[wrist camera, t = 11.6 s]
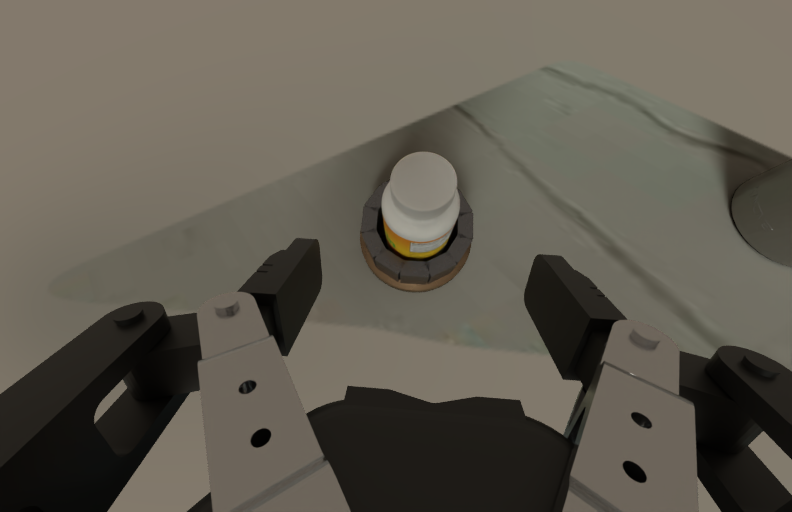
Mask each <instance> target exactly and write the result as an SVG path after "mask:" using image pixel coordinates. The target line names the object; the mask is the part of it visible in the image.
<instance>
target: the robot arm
mask: <svg viewBox="0 0 792 512" xmlns="http://www.w3.org/2000/svg"><path fill="white" fill-rule="evenodd" d="M732 214H733V219H734V221H735V224H736V226H737V228H738V230H739V231H740V233H741V234H742V236H743V237H744V238H745V239H746V241H747V242H748V243H749V244H750V245H751V246H752V247H753V248H755V249H756V250H757V251H758V252H759V253H761V254H762V255H764V256H766V257H767V258H769V259H771V260H773V261H775V262H778V263H780V264H782V265H786V266H790V267H792V160H790V161H788V162H785V163H783V164H781V165H779V166H777V167H775V168H773V169H771V170H769V171H767V172H764V173H762V174H760V175H758V176H756V177H754V178H752V179H750V180H748V181H746V182H745V183H743V184H742V185H740V187H739V188H738V189H737V190H736V191H735V194H734V196H733V199H732ZM321 285H322V269H321V258H320V247H319V242H318V240H317V239H302V238H296V239H295V240H294V241H293V242H292V244H291V245H290V246H289V247H288V248H287V249H286V250H281V251H279V252H277V253H275V254H273V255H271V256H270V257H269V258H268V259H267V260H266V261H265V262H264V263H263V266H260V267H259V268H258V270H257V272H255V273H254V274H253V275H252V276H251V277H250V278H249V279H248V280H247V281H246V283H245V284H244V285H243V286H242V287H241V288H240V289H239V290H238V291H237V292H229V293H224V294H221V295H218V296H215V297H213V298H211V299H209V300H208V301H206V302H205V303H204V304H202V305H201V306H200V308H199V309H198V311H197V313H192V314H184V315H176V316H170V317H168V316H167V314H166V312H165V309H164V307H163V305H161V304H160V303H157V302H139V303H134V304H130V305H127V306H124V307H121V308H118V309H116V310H114V311H112V312H110V313H108V314H107V315H105V316H104V317H102V318H101V319H100V320H98V321H97V322H96V323H94V324H93V325H92V326H90V327H89V328H88V329H86V330H85V331H84V332H82V333H81V334H80V335H78V336H77V337H76V338H74V339H73V340H72V341H70V342H69V343H68V344H66V345H65V346H64V347H62V348H61V349H60V350H58V351H57V352H56V353H54V354H53V355H52V356H50V357H49V358H48V359H47V360H45V361H44V362H43V363H41V364H40V365H39V366H37V367H36V368H35V369H33V370H32V371H31V372H29V373H28V374H27V375H25V376H24V377H23V378H21V379H20V380H19V381H17V382H16V383H15V384H14V385H12V386H11V387H9V388H8V389H7V390H5V391H4V392H3V393H1V394H0V512H107V511H108V510H109V508H110V507H111V505H112V504H113V503H114V501H115V500H116V498H117V497H118V495H119V494H120V492H121V491H122V489H123V488H124V487H125V485H126V484H127V482H128V481H129V480H130V478H131V477H132V475H133V474H134V472H135V471H136V469H137V468H138V466H139V465H140V464H141V462H142V461H143V459H144V458H145V457H146V455H147V454H148V452H149V451H150V449H151V448H152V446H153V445H154V444H155V442H156V441H157V439H158V438H159V436H160V435H161V434H162V432H163V431H164V429H165V428H166V426H167V425H168V424H169V422H170V421H171V419H172V418H173V416H174V415H175V413H176V412H177V411H178V409H179V408H180V406H181V405H182V403H183V402H184V401H185V399H186V397H187V396H188V395H189V393H190V392H194V391H199V390H200V392H201V403H202V413H203V422H204V432H205V440H206V451H207V460H208V470H209V480H210V489H211V492H210V493H209V494H207V495H206V496H205V497H204V498H203V499H201V500H200V501H199V502H198V503H196V504H195V505H194V506H193V507H192V508H191V509H189V510H188V511H187V512H699V511H698V487H697V477H698V478H699V479H700V481H701V482H702V484H703V485H704V487H705V488H706V490H707V491H708V493H709V494H710V496H711V497H712V498H713V500H714V501H715V503H716V504H717V506H718V507H719V509H720V510H721V512H792V495H791V494H790V493H789V492H788V491H787V489H786V488H785V487H784V486H783V485H782V484H781V483H780V482H779V481H778V479H777V478H776V477H775V476H774V475H773V474H772V472H771V471H770V470H769V469H768V468H767V467H766V466H765V465H764V464H763V462H762V461H761V460H760V459H759V458H758V457H757V456H756V454H755V453H754V452H753V451H752V450H751V449H750V448H749V447H748V445H749V444H750V443H751V442H752V441H753V440H754V439H755V438H756V437H757V436H758V435H759V434H760V433H761V432H763V431H764V432H766V434H767V435H768V436H769V437H770V438H771V439H772V440H773V441H774V442H775V443H776V444H777V445H778V446H779V447H780V448H781V449H782V450H783V451H784V452H785V453H786V454H787V455H788V456H789V457H790V458H791V459H792V372H791V371H790V370H789V369H787V368H786V367H784V366H783V365H781V364H780V363H778V362H776V361H774V360H772V359H770V358H768V357H766V356H764V355H762V354H759V353H757V352H754V351H751V350H748V349H745V348H741V347H736V346H722V347H720V348H719V349H718V350H717V351H716V353H715V354H714V355H713V356H712V358H711V359H708V358H704V357H701V356H697V355H693V354H689V353H686V352H682V351H679V348H678V346H677V344H676V343H675V342H674V341H673V340H672V339H671V338H670V337H669V336H667V335H666V334H664V333H663V332H661V331H659V330H658V329H656V328H654V327H652V326H649V325H647V324H644V323H641V322H637V321H632V320H627V318H626V317H625V316H624V315H623V314H622V313H621V312H620V311H619V310H618V309H617V308H616V307H615V306H614V305H613V304H612V303H611V301H610V300H609V299H608V298H607V297H605V295H604V294H603V293H602V292H601V291H600V290H599V289H597V287H596V286H595V284H594V283H593V282H592V281H591V280H590V279H589V278H587V277H586V276H584V275H583V274H581V273H579V272H578V271H576V270H574V269H573V268H572V267H571V266H570V265H569V264H568V263H567V262H566V260H565V259H564V258H563V257H562V256H556V255H541V254H539V255H537V256H536V257H535V259H534V262H533V265H532V268H531V272H530V275H529V278H528V282H527V285H526V288H525V293H524V302H525V306H526V308H527V310H528V312H529V314H530V316H531V318H532V320H533V322H534V324H535V326H536V328H537V330H538V332H539V334H540V336H541V337H542V339H543V341H544V343H545V345H546V347H547V349H548V351H549V353H550V355H551V357H552V359H553V361H554V363H555V364H556V366H557V369H558V371H559V373H560V374H561V376H562V378H563V379H565V380H577V381H581V383H582V384H583V385H582V387H581V390H580V391H579V394H578V396H577V399H576V402H575V404H574V407H573V410H572V413H571V415H570V418H569V421H568V423H567V426H566V429H565V432H564V434H563V435H562V434H560V433H559V432H557V431H556V430H554V429H553V428H551V427H549V426H547V425H545V424H543V423H542V422H539V421H537V420H534V419H532V418H530V417H527V416H525V414H524V411H523V408H522V405H521V402H520V400H510V399H498V398H486V397H472V398H466V399H460V400H454V401H448V402H441V403H430V402H426V401H423V400H420V399H417V398H414V397H411V396H408V395H405V394H402V393H399V392H396V391H393V390H389V389H378V388H377V389H376V388H366V387H353V386H348V387H347V391H346V395H345V399H344V400H341V401H336V402H332V403H329V404H326V405H323V406H321V407H318V408H316V409H314V410H312V411H310V412H308V413H307V414H306V413H305V410H304V408H303V406H302V403H301V401H300V398H299V396H298V394H297V391H296V389H295V386H294V384H293V382H292V379H291V377H290V375H289V372H288V370H287V367H286V365H285V363H284V360H283V358H282V356H288V354H289V352H290V350H291V348H292V346H293V344H294V342H295V340H296V338H297V336H298V334H299V332H300V330H301V328H302V326H303V324H304V322H305V320H306V318H307V316H308V314H309V312H310V310H311V308H312V306H313V304H314V302H315V300H316V298H317V296H318V294H319V292H320V289H321ZM122 379H123V380H124V383H125V384H126V386H127V389H126V390H125V391H124V393H123V394H122V395H121V396H120V397H119V398H118V399H117V400H116V401H115V402H114V403H113V405H112V406H111V407H110V408H109V409H108V410H107V411H106V412H105V413H104V414H103V415H102V417H100V419H99V420H98V421H97V422H96V423H95V424H94V415H95V412H96V409H97V407H98V405H99V404H100V402H101V401H102V400H103V399H104V398H105V397H106V396H107V395H108V393H109V392H110V391H111V390H112V389H113V388H114V387H115V386H116V385H117V384H118V383H119V382H120V381H121V380H122Z"/></svg>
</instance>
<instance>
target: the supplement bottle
mask: <svg viewBox="0 0 792 512" xmlns="http://www.w3.org/2000/svg"><path fill="white" fill-rule="evenodd" d="M459 210H460V198H459V193H458V191H457V176H456V172H455V170H454V168H453V166H452V165H451V164H450V163H449V162H448V161H447V160H446V159H445V158H443V157H442V156H440V155H438V154H435V153H431V152H415V153H412V154H409V155H407V156H405V157H403V158H402V159H401V160H400V161H399V162H398V163H397V164H396V165H395V167H394V168H393V170H392V173H391V177H390V181H389V183H388V184H387V186H386V188H385V190H384V192H383V196H382V215H383V221H384V228H385V234H386V240H387V244H388V247H389V249H390V251H391V252H392V253H393V254H395V255H397V256H398V257H400V258H401V259H403V260H406V261H422V262H427V261H429V260H431V259H433V258H436V257H438V256H439V255H440V254H441V253H442V251H443V250H444V248H445V246H446V244H447V241H448V239H449V237H450V234H451V232H452V230H453V227H454V225H455V223H456V220H457V218H458V214H459Z"/></svg>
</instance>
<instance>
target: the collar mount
mask: <svg viewBox="0 0 792 512" xmlns="http://www.w3.org/2000/svg"><path fill="white" fill-rule="evenodd" d="M389 181H390V180H389ZM389 181H387V182H384V183H382V186H381V185H379V187H378V188H377V189H376V191H375V192H374V193H373V194H372V196H371V197H370V198H369V200H368V201H367V202H366V204H365V207H364V209H363V218H362V226H361V232H360V242H361V248H362V253H363V255H364V258H365V260H366V262H367V264H368V266H369V268H370V269H371V270H372V272H373V273H374V274H375V275H376V276H377V277H378V278H379V279H380V280H381V281H383V282H384V283H385V284H387V285H389V286H391V287H393V288H395V289H398V290H402V291H406V292H426V291H430V290H434V289H436V288H439V287H441V286H443V285H445V284H446V283H448V282H449V281H450V280H452V279H453V278H454V277H455V276H456V275H457V274H458V272H459V271H460V270H461V268H462V267H463V266H464V264H465V262H466V260H467V258H468V255H469V253H470V248H471V242H472V241H473V240H472V239H473V213H472V209H471V208H470V206H469V205H468V203H467V201H466V200H465V198H464V197H463V195H462V193H461V192H460V190H459V189H458V190H457V191H458V193H459V198H460V210H459V214H458V218H457V220H456V223H455V225H454V227H453V230H452V232H451V234H450V237H449V239H448V241H447V244H446V246H445V248H444V250H443V251H442V253H441V254H440V255H439V256H438V257H436V258H433V259H431V260H429V261H427V262H422V261H406V260H403V259H401V258H400V257H398V256H397V255H395V254H393V253H392V252H391V251H390V249H389V247H388V244H387V240H386V234H385V228H384V221H383V215H382V196H383V192H384V190H385V188H386V186H387V184H388V183H389Z"/></svg>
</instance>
